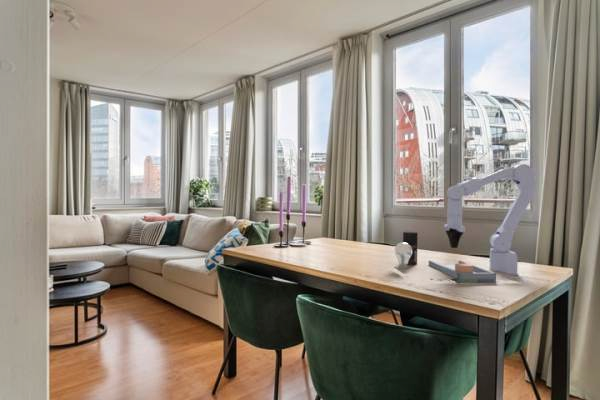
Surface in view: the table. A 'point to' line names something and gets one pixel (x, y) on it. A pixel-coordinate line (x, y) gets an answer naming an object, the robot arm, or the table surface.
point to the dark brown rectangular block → (412, 241)
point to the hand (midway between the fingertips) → (454, 247)
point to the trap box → (475, 277)
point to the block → (464, 268)
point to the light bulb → (403, 254)
